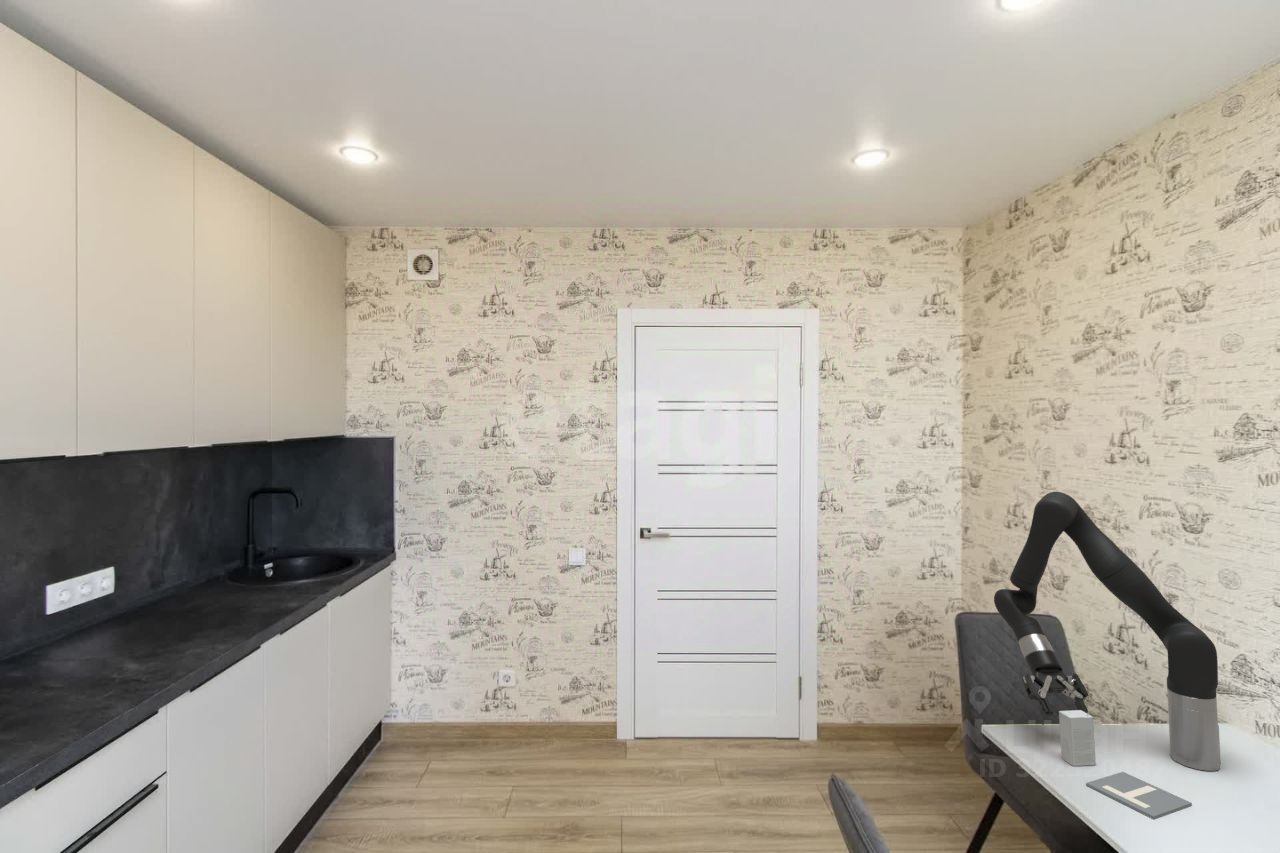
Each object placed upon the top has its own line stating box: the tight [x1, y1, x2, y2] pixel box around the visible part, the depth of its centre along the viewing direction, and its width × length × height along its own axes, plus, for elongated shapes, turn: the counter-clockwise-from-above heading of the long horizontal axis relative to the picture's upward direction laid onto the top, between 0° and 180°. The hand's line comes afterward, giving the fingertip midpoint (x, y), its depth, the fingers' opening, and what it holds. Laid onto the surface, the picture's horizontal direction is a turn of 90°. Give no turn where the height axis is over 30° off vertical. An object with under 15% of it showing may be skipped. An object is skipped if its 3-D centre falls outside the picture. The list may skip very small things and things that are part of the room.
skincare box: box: [1058, 709, 1097, 767], centre depth 154 cm, size 6×4×12 cm
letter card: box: [1085, 771, 1193, 820], centre depth 139 cm, size 13×14×1 cm
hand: (1067, 715), depth 158 cm, fingers open, 8 cm apart
